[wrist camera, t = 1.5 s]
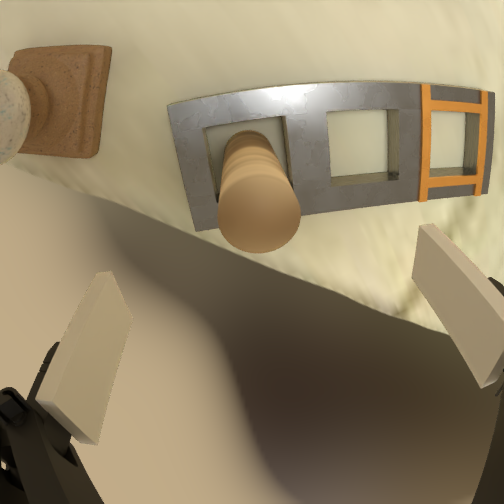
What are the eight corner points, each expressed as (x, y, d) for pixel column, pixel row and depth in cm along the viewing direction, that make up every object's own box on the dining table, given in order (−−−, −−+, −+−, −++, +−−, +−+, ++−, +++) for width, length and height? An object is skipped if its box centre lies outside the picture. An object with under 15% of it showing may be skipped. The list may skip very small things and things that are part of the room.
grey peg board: (172, 103, 26) (166, 106, 23) (480, 89, 25) (496, 93, 22) (198, 220, 32) (195, 233, 30) (475, 185, 31) (488, 194, 29)
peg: (221, 134, 28) (209, 185, 16) (268, 127, 27) (297, 172, 16) (228, 178, 30) (225, 258, 18) (274, 171, 30) (303, 247, 18)
